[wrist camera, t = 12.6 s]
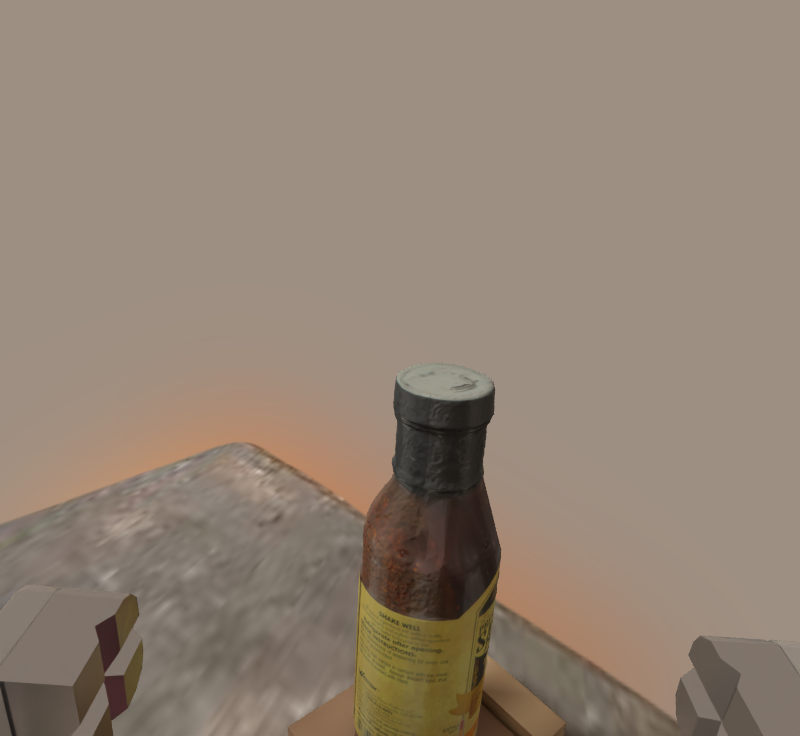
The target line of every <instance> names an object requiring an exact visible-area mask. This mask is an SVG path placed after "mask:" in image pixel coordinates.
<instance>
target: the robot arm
mask: <svg viewBox="0 0 800 736" xmlns="http://www.w3.org/2000/svg"><path fill="white" fill-rule="evenodd" d="M138 616H139V609H138V603H137V597H136V596H134V595H132V594H126V593H116V592H106V591H96V590H86V589H76V588H66V587H63V588H58V587H49V586H39V585H29V584H28V585H27V586H25V587H23V588H21V589H19V590H18V591H17V592H16V593H15V594H14V595H13V596H12V598H11V599H10V600H9V601H8V603H7V604H6V605H5V606H4V607H3V609H2V610H1V611H0V736H113V730H112V723H111V721H112V720H113V719H114V718H116V717H117V716H118V715H119V714H121V713H122V712H123V711H125V710H126V709H127V708H128V706H129V704H130V702H131V700H132V698H133V695H134V693H135V691H136V688H137V684H138V681H139V677H140V673H141V669H142V661H143V643H142V637H141V636H140V635H139V634H138V633H137V632H136V631H135V630H134V629H133V626H134V624H135V622H136V620H137V618H138ZM689 657H690V659H691V661H692V663H693V665H694V668H693V669H692V670H690V671H689V672H688V673H687V674H685V675H683V676H682V677H681V678H680V682H679V685H678V689H677V692H676V716H677V721H678V725H679V729H680V732H681V735H682V736H800V642H794V641H778V640H769V641H767V640H760V639H745V638H730V637H712V636H699V637H698V638H697V639H696V640H695V641H694V642H693V644H692V647H691V650H690V652H689Z"/></svg>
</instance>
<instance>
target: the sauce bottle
mask: <svg viewBox="0 0 800 736" xmlns="http://www.w3.org/2000/svg"><path fill="white" fill-rule="evenodd" d="M494 395H495V387H494V383H493V381H492V380H491V379H490V378H489V377H487V375H485V374H483V373H480V372H478V371H475V370H473V369H470V368H466V367H462V366H458V365H452V364H444V363H430V364H420V365H415V366H412V367H409V368H406V369H404V370H403V371H401V372H400V373H399V374H398V376H397V377H396V383H395V390H394V402H393V403H394V411H395V417H396V419H397V433H396V448H395V455H394V457H393V458H392V465H393V472H394V474H393V476H392V478H391V479H390V481H389V482H388V483H387V484H386V485H385V486H384V488H383V489H382V490H381V491H380V492H379V493H378V495H377V496H376V498H375V499H374V501H373V502H372V504H371V506H370V508H369V511H368V513H367V516H366V519H365V524H364V533H363V558H362V563H361V566H360V571H359V591H358V613H357V635H356V658H355V681H354V704H353V718H354V723H355V735H354V736H476V732H477V726H478V718H479V711H480V705H481V698H482V690H483V683H484V676H485V669H486V665H487V654H488V649H489V641H490V635H491V629H492V623H493V612H494V604H495V597H496V593H497V581H498V578H499V568H500V560H501V559H500V558H501V548H500V544H499V540H498V536H497V532H496V528H495V523H494V520H493V516H492V511H491V507H490V503H489V499H488V495H487V491H486V487H485V483H484V478H483V475H484V469H483V457H484V448H485V440H486V428H487V425H488V424H489V423H490V420H491V418H492V416H493V415H494Z"/></svg>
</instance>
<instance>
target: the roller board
mask: <svg viewBox="0 0 800 736" xmlns="http://www.w3.org/2000/svg"><path fill="white" fill-rule="evenodd" d="M353 704H354V685H353V686H351V687H350V688H348V689H347V690H345V691H343V692H342V693H340V694H339V695H337V696H336V697H334V698H333V699H331V700H329V701H328V702H326V703H325V704H323V705H322V706H320V707H319V708H317V709H315V710H314V711H312V712H311V713H309V714H308V715H306V716H305V717H303V718H301V719H300V720H298V721H297V722H295V723H294V724H292V725H291V726H289V727H288V736H354V735H355V723H354V718H353ZM565 726H566V722H564V721H563V720H562V719H561V718H560V717H559V716H558V715H556V714H555V713H554V712H553V711H552V710H551V709H549V708H548V707H547V706H546V705H545V704H544V703H543V702H541V701H540V700H539V699H538V698H537V697H536V696H534V695H533V694H532V693H531V692H530V691H529V690H527V689H526V688H525V687H524V686H523V685H522V684H521V683H519V682H518V681H517V680H516V679H515V678H514V677H512V676H511V675H510V674H509V673H508V672H507V671H506V670H504V669H503V668H502V667H501V666H500V665H499V664H497V663H496V662H495V661H494V660H493V659H492V658H491V657H489V656H488V655H487V665H486V669H485V676H484V683H483V690H482V698H481V705H480V711H479V718H478V726H477V732H476V736H563V734H564V730H565Z"/></svg>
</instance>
